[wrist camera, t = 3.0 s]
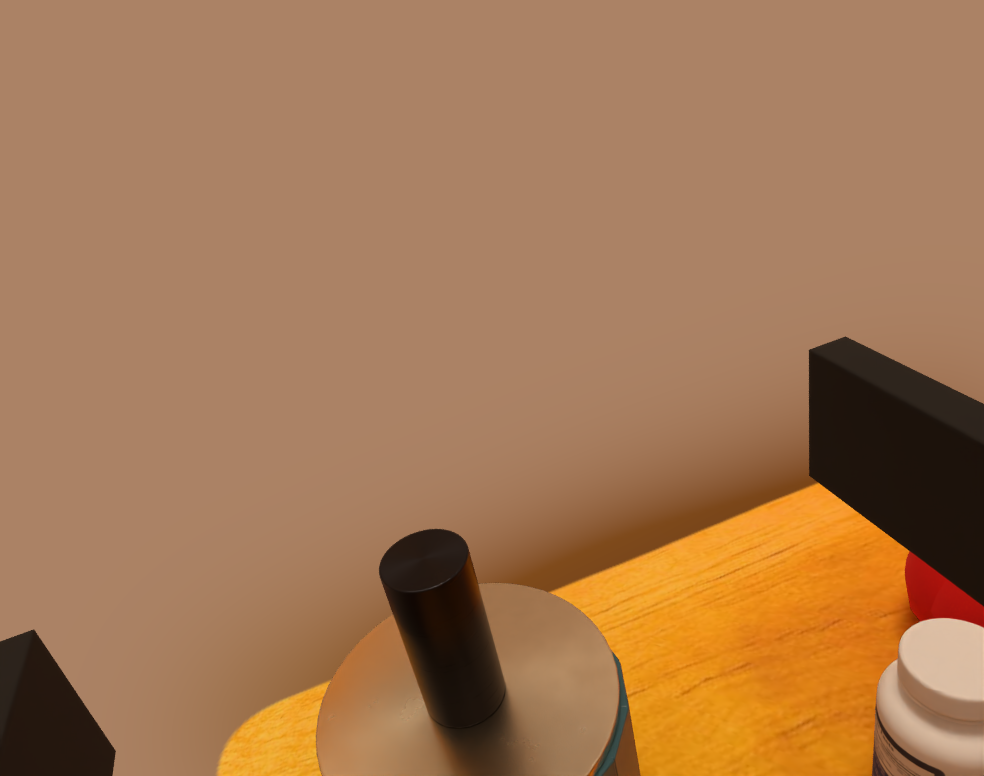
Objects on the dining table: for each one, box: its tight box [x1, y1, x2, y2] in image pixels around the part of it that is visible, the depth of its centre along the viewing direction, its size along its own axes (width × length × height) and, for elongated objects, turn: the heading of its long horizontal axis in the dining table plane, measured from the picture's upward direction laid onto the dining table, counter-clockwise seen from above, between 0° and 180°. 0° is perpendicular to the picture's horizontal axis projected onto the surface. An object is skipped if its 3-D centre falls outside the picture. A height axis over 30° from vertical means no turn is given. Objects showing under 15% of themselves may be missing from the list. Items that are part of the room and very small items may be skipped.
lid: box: [316, 529, 620, 776], centre depth 27 cm, size 11×11×8 cm
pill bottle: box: [872, 618, 984, 776], centre depth 31 cm, size 5×5×10 cm
